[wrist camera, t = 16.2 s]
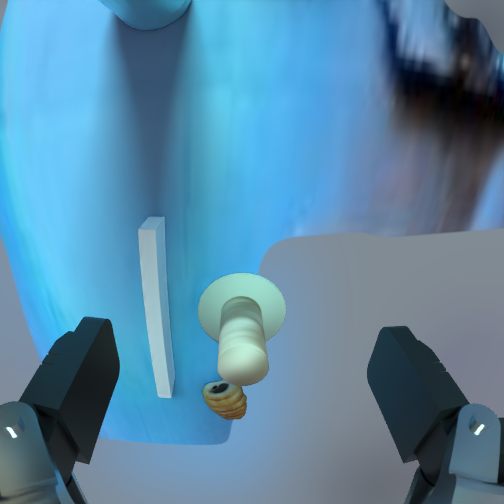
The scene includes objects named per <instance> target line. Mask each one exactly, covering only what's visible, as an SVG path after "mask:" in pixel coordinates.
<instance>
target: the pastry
mask: <svg viewBox="0 0 504 504" xmlns="http://www.w3.org/2000/svg"><path fill="white" fill-rule="evenodd" d="M202 392H203V397H204V399H205V402H206V403H207V404H208V406H209V407H210V408H211V409H212V410H213V411H214V412H216V413H217V414H219V415H220V416H221V417H223V418H225V419H228V420H229V419H241V418H242V417H243V416H244V415H245V413H246V407H247V404H246V399H247V397H246V395H245V394H244V393H243V390H242V387H241V386H238V385H233V384H231V383H228V382H227V381H225V380H224V379H223V380H220V381H218V382H212V383H208V384H206V385H205V386H204V388H203V391H202Z"/></svg>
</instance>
